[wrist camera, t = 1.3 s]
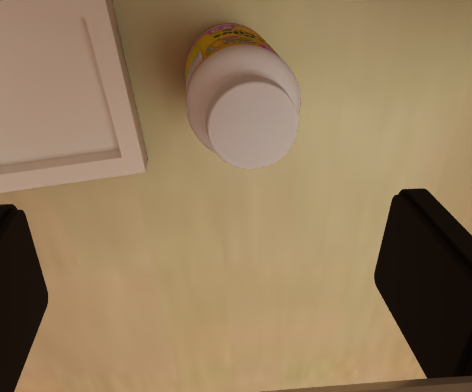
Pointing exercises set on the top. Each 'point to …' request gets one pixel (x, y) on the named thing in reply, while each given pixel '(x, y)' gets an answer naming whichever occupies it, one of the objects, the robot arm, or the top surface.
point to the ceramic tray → (64, 95)
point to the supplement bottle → (241, 97)
